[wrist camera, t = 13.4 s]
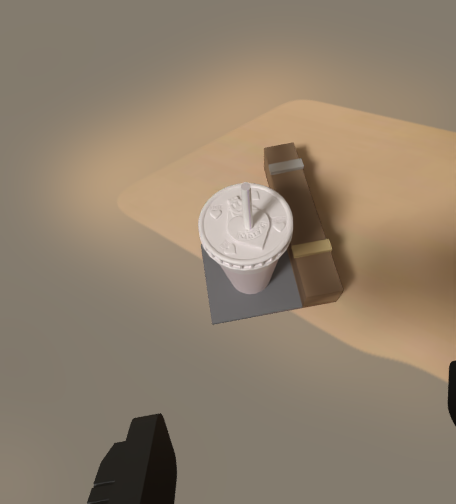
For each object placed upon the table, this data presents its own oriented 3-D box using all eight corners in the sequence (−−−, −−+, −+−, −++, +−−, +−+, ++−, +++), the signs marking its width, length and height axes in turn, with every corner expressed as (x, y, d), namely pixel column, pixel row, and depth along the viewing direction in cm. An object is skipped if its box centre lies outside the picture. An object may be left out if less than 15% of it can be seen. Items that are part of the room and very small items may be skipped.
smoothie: (234, 321, 29) (211, 251, 16) (204, 262, 32) (165, 162, 19) (298, 288, 30) (324, 197, 17) (264, 233, 32) (264, 119, 20)
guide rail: (292, 162, 36) (294, 139, 33) (337, 301, 29) (345, 288, 26) (263, 167, 36) (263, 145, 33) (301, 308, 29) (305, 295, 26)
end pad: (281, 230, 33) (281, 228, 32) (302, 307, 29) (302, 307, 29) (201, 245, 33) (200, 243, 32) (212, 324, 29) (212, 323, 29)
